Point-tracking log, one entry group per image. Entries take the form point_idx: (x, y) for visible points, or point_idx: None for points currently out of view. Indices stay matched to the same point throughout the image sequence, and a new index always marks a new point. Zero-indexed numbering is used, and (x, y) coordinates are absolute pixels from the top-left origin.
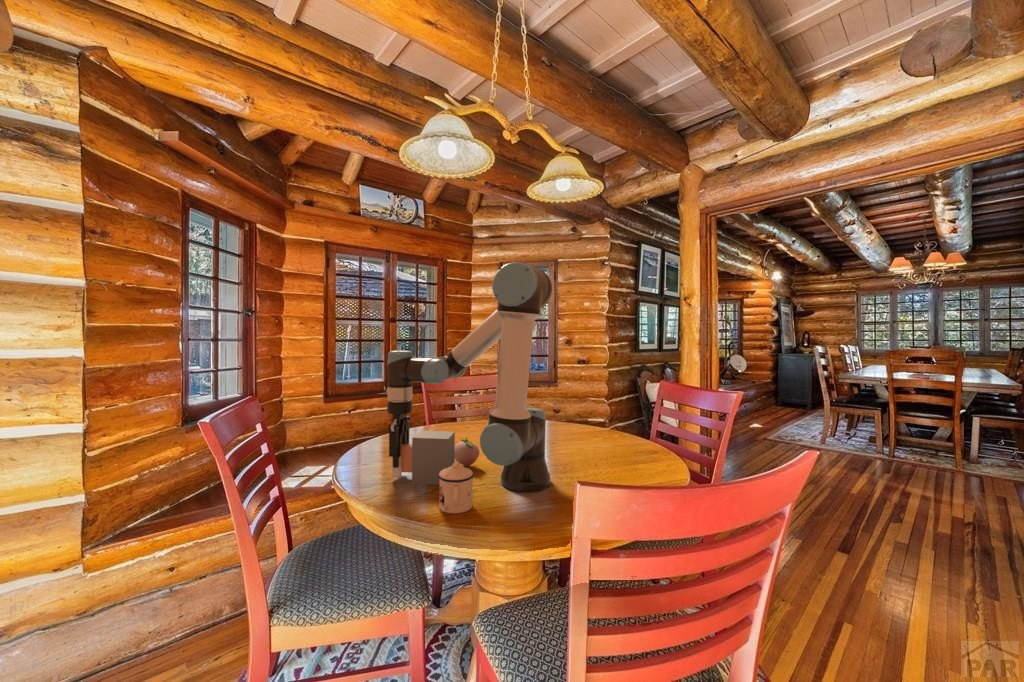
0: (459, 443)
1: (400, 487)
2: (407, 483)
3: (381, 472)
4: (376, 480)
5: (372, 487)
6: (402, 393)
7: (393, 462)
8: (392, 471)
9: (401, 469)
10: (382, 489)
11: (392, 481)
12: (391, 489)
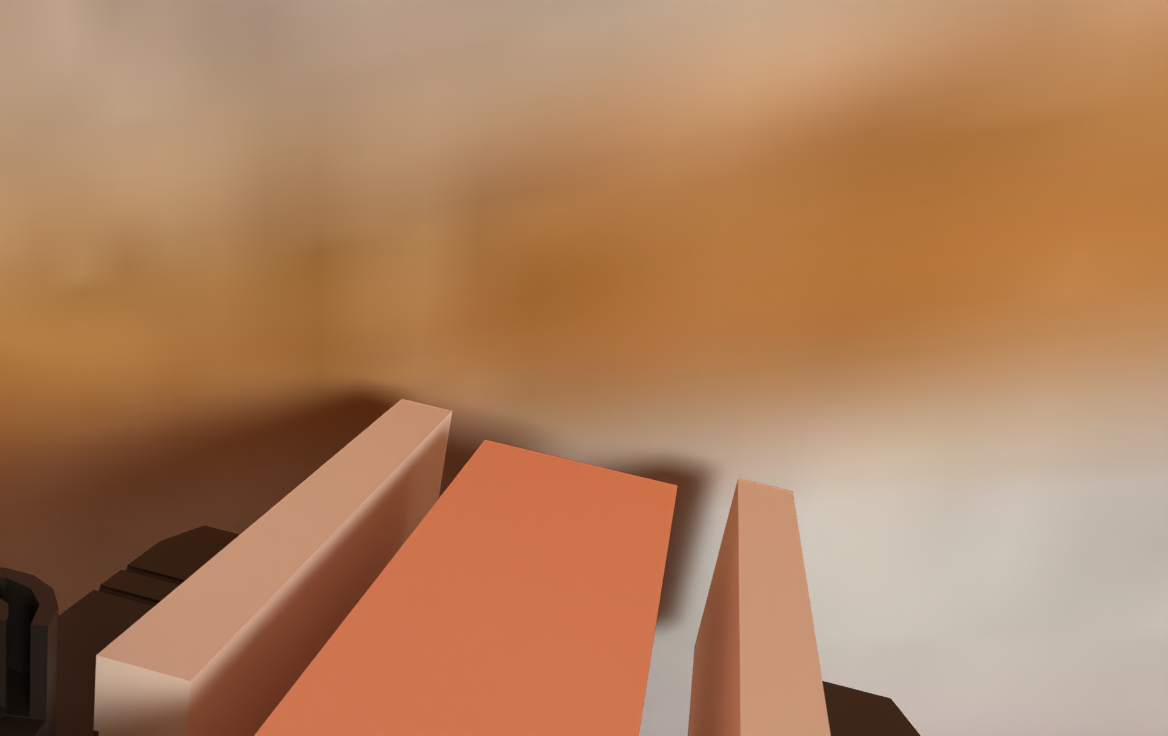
0: None
1: (134, 549)
2: None
3: (1026, 49)
4: (477, 46)
5: (104, 51)
6: None
7: (89, 611)
8: (352, 451)
9: None
10: (30, 263)
11: (408, 388)
12: (43, 415)
